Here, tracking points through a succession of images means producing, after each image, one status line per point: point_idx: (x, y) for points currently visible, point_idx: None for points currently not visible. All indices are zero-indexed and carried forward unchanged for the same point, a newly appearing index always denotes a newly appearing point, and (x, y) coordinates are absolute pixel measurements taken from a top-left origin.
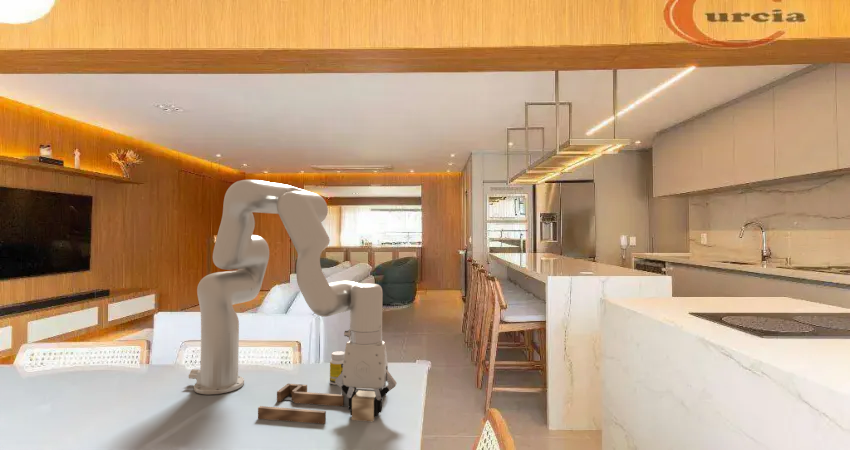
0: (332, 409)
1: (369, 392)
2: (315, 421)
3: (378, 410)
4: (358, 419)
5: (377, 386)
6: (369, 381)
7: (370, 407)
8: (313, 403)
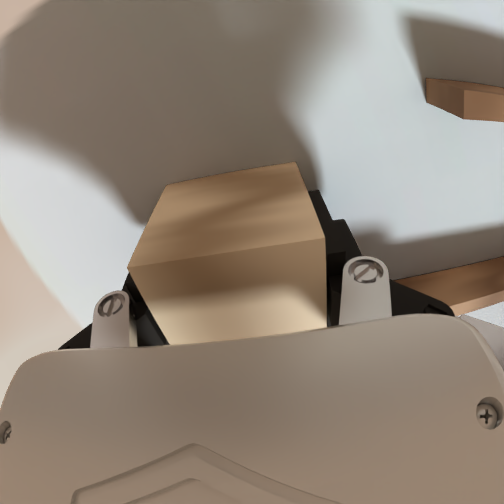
0: (430, 242)
1: None
2: (470, 83)
3: None
4: (253, 171)
5: (42, 362)
6: (95, 415)
7: (162, 226)
8: (499, 260)
